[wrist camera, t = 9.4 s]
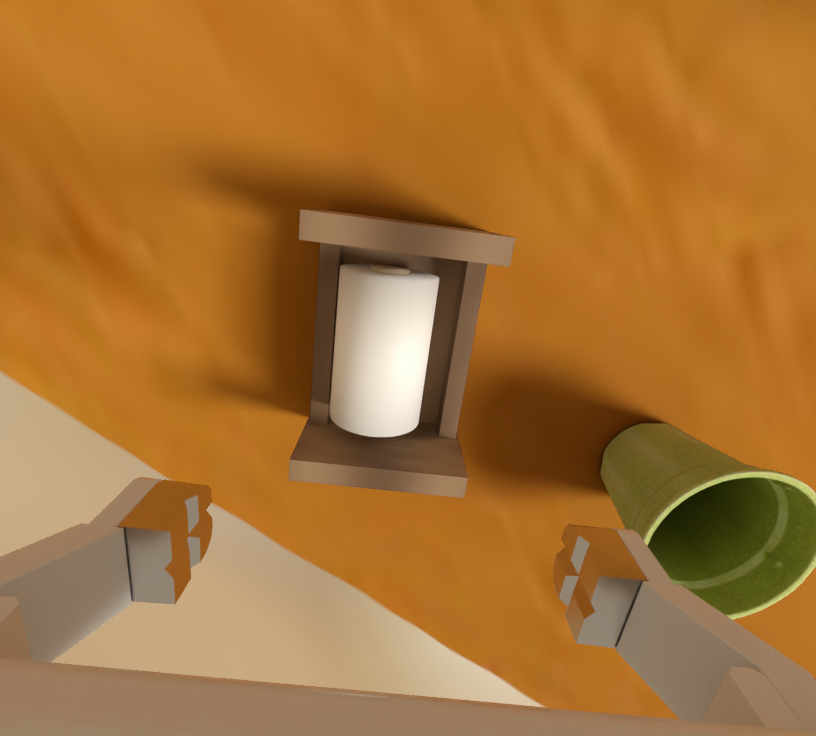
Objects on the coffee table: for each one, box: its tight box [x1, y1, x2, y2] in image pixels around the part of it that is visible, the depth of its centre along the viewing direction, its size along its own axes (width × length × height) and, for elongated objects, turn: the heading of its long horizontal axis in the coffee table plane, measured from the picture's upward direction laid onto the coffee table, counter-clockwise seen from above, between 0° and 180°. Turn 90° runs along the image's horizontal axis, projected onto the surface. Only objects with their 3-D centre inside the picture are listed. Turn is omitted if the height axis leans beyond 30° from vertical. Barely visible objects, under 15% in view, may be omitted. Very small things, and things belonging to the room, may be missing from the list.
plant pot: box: [600, 423, 816, 619], centre depth 26 cm, size 9×9×9 cm
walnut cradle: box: [289, 209, 515, 498], centre depth 24 cm, size 9×13×7 cm
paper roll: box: [330, 264, 439, 437], centre depth 24 cm, size 8×5×5 cm, turn 173°
